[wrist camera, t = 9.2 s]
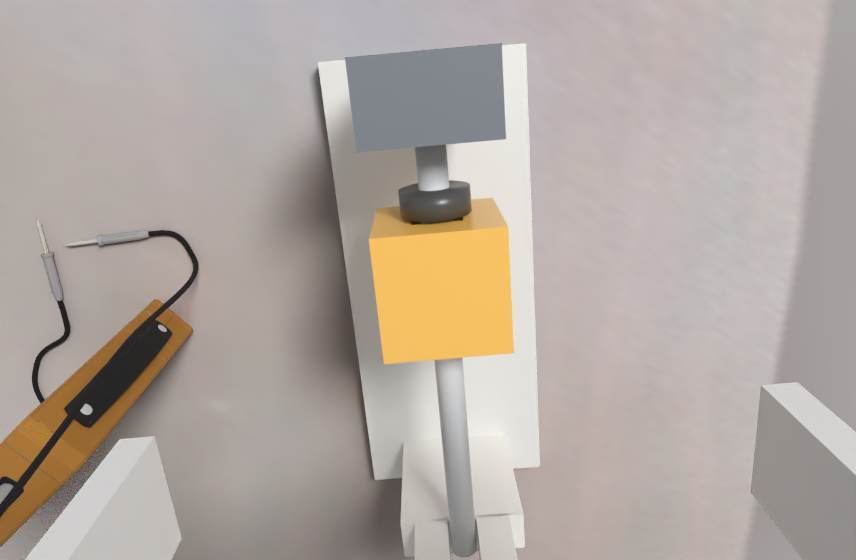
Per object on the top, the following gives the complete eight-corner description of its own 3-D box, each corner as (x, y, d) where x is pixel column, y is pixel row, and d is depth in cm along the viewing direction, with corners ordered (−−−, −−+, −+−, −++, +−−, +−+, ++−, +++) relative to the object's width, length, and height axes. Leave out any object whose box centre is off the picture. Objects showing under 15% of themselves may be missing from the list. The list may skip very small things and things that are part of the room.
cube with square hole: (498, 305, 29) (513, 353, 24) (389, 314, 29) (383, 364, 24) (492, 197, 27) (508, 226, 23) (377, 207, 27) (368, 238, 23)
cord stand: (536, 454, 39) (583, 615, 28) (375, 467, 39) (359, 633, 28) (522, 43, 31) (580, 35, 20) (321, 62, 32) (266, 64, 20)
